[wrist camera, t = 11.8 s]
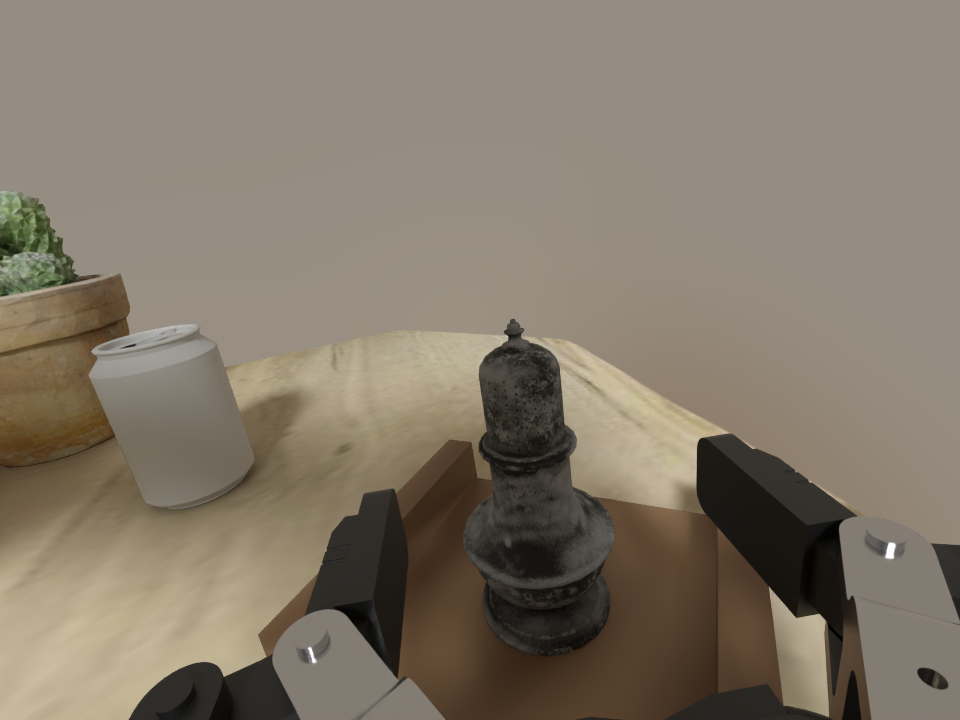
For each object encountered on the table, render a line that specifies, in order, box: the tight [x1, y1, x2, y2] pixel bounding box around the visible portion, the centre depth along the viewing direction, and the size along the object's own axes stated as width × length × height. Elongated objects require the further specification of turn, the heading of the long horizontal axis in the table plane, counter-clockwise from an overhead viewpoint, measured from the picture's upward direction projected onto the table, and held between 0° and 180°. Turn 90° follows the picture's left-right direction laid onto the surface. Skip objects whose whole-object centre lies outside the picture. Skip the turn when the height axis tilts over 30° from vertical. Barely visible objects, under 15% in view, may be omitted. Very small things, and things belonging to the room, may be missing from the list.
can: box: [89, 324, 255, 509], centre depth 33 cm, size 8×8×12 cm
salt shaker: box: [463, 319, 614, 656], centre depth 17 cm, size 6×6×12 cm
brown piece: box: [258, 440, 783, 720], centre depth 19 cm, size 16×14×4 cm
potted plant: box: [0, 191, 130, 467], centre depth 44 cm, size 18×19×25 cm
